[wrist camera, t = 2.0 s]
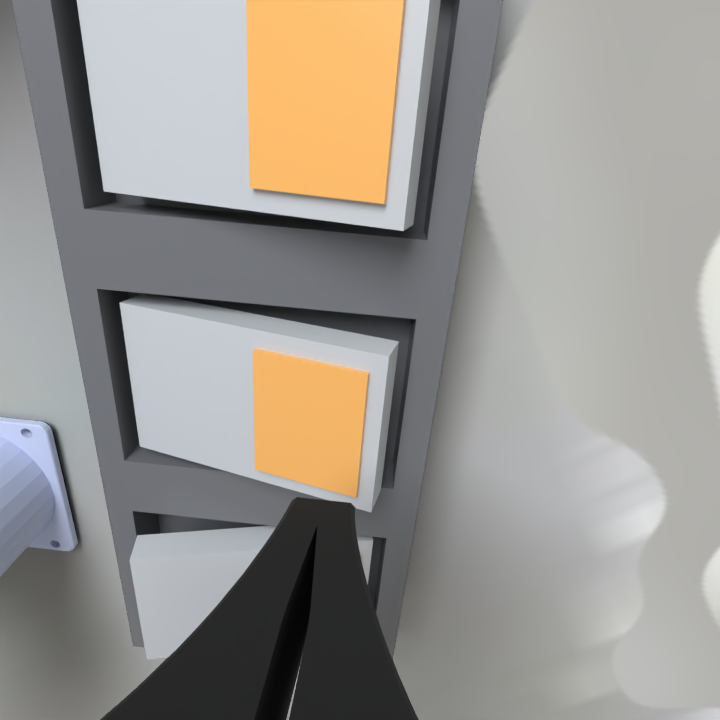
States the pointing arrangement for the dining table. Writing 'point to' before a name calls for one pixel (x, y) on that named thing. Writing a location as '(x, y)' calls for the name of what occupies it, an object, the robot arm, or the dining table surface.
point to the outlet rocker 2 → (194, 578)
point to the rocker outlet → (264, 103)
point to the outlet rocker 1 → (262, 396)
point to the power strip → (256, 291)
